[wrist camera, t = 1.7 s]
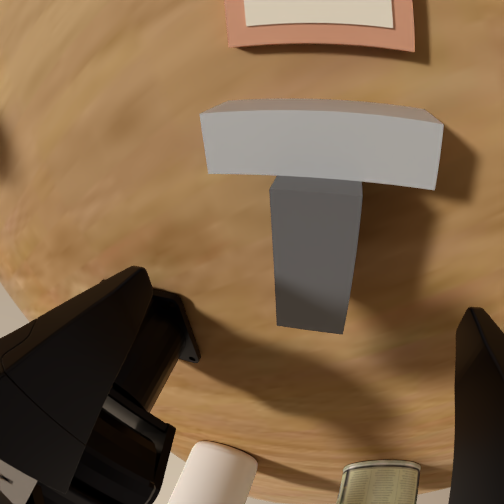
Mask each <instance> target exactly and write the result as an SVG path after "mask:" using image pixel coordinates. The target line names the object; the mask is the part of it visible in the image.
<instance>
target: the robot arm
mask: <svg viewBox="0 0 504 504" xmlns="http://www.w3.org/2000/svg"><path fill="white" fill-rule="evenodd" d="M200 358H201V355H200V353H199V350H198V347H197V344H196V341H195V339H194V336H193V333H192V330H191V327H190V324H189V321H188V318H187V315H186V312H185V309H184V306H183V303H182V301H181V299H180V298H179V297H178V296H177V295H175V294H171V293H166V292H161V291H156V290H153V287H152V285H151V282H150V279H149V276H148V273H147V271H146V269H145V268H143V267H139V266H131V267H129V268H127V269H125V270H123V271H121V272H119V273H118V274H116V275H114V276H112V277H110V278H108V279H106V280H102V281H101V282H100V283H99V284H97V285H95V286H93V287H92V288H90V289H88V290H86V291H84V292H82V293H81V294H79V295H77V296H75V297H73V298H72V299H70V300H68V301H66V302H64V303H63V304H61V305H59V306H57V307H56V308H54V309H52V310H50V311H49V312H47V313H45V314H43V315H42V316H40V317H38V318H37V319H35V320H33V321H31V322H29V323H28V324H26V325H24V326H23V327H21V328H19V329H17V330H15V331H14V332H12V333H10V334H8V335H6V336H4V337H2V338H0V504H152V503H153V502H154V501H155V499H156V498H157V496H158V494H159V492H160V489H161V486H162V483H163V478H164V474H165V470H166V466H167V462H168V458H169V454H170V450H171V447H172V443H173V439H174V435H175V431H176V428H175V427H173V426H172V425H170V424H168V423H164V422H163V421H161V420H160V419H158V418H157V417H155V416H153V415H152V414H150V411H151V409H152V407H153V405H154V404H155V402H156V400H157V398H158V396H159V394H160V392H161V391H162V389H163V387H164V385H165V383H166V381H167V379H168V378H169V376H170V374H171V372H172V370H173V368H174V366H175V365H176V363H177V361H178V359H182V360H186V361H189V362H193V363H198V362H199V360H200ZM449 504H504V333H503V332H502V331H501V329H500V328H499V327H498V326H497V325H496V323H495V322H494V321H493V320H492V319H491V317H490V316H489V315H488V314H487V313H486V311H485V310H484V309H483V308H480V307H469V308H468V309H467V310H466V312H465V314H464V316H463V318H462V320H461V322H460V324H459V326H458V328H457V331H456V362H455V441H454V459H453V471H452V481H451V490H450V498H449Z"/></svg>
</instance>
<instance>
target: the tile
mask: <svg viewBox="0 0 504 504" xmlns="http://www.w3.org/2000/svg"><path fill="white" fill-rule="evenodd" d="M224 4H225V14H226V25H227V36H228V46H229V48H238V47H248V46H262V45H281V44H332V45H351V46H364V47H374V48H383V49H391V50H399V51H405V52H415V36H414V16H413V3H412V0H224Z"/></svg>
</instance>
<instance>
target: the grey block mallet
mask: <svg viewBox="0 0 504 504" xmlns="http://www.w3.org/2000/svg"><path fill="white" fill-rule="evenodd" d="M200 120H201V127H202V134H203V141H204V148H205V154H206V161H207V167H208V174H252V175H277V177H276V179H275V180H274V182H273V184H272V186H271V187H270V189H269V191H270V207H271V223H272V240H273V257H274V276H275V296H276V317H277V326H284V327H291V328H297V329H304V330H312V331H319V332H327V333H335V334H343V331H344V325H345V320H346V315H347V309H348V304H349V298H350V292H351V286H352V279H353V273H354V266H355V259H356V252H357V244H358V236H359V227H360V218H361V208H362V198H363V194H362V182H372V183H381V184H390V185H398V186H407V187H414V188H422V189H429V190H435V186H436V180H437V174H438V167H439V160H440V153H441V145H442V136H443V127H444V124H442V123H441V122H440V121H439V120H438V119H436V118H435V117H434V116H433V115H431V114H430V113H429V112H427V111H426V110H425V109H420V108H413V107H406V106H399V105H391V104H382V103H373V102H361V101H348V100H331V99H248V100H230V101H227V102H224V103H222V104H220V105H218V106H215V107H213V108H211V109H209V110H207V111H204V112H202V113H200Z"/></svg>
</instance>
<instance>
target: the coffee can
mask: <svg viewBox="0 0 504 504" xmlns="http://www.w3.org/2000/svg"><path fill="white" fill-rule="evenodd" d="M420 469H421V466H420V465H419V464H418V463H415V462H411V461H404V460H374V461H364V462H358V463H353V464H350V465H347V466H346V467H344V469H343V476H342V481H341V486H340V490H339V494H338V498H337V503H336V504H416V501H417V494H418V486H419V476H420Z"/></svg>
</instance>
